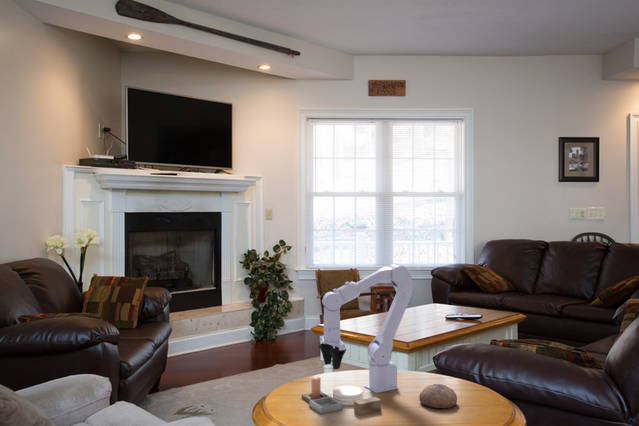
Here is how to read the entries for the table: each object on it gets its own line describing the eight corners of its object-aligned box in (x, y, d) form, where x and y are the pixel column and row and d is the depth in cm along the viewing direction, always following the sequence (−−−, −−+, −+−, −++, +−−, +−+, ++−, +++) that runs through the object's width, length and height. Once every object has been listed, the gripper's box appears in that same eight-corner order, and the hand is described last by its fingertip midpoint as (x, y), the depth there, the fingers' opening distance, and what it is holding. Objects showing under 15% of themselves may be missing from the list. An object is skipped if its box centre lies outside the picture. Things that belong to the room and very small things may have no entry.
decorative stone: (443, 411, 165) (442, 393, 165) (412, 402, 174) (411, 385, 174) (464, 401, 173) (463, 384, 173) (433, 393, 182) (432, 377, 182)
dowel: (317, 397, 180) (317, 376, 180) (322, 400, 177) (322, 379, 177) (309, 398, 178) (309, 377, 178) (314, 401, 176) (314, 380, 176)
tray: (330, 402, 175) (330, 396, 175) (342, 410, 168) (342, 403, 168) (309, 406, 171) (309, 400, 171) (320, 414, 165) (320, 408, 165)
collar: (320, 394, 183) (320, 391, 182) (330, 401, 176) (330, 397, 176) (301, 398, 179) (301, 394, 179) (311, 404, 173) (311, 401, 173)
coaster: (368, 399, 179) (368, 388, 179) (354, 408, 170) (353, 397, 170) (342, 393, 184) (342, 383, 184) (327, 402, 176) (327, 391, 176)
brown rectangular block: (375, 407, 170) (375, 396, 170) (381, 411, 167) (381, 399, 167) (354, 412, 166) (354, 401, 166) (359, 415, 164) (359, 404, 164)
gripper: (312, 324, 191) (312, 362, 191) (332, 332, 178) (332, 373, 178) (329, 322, 194) (329, 360, 194) (350, 330, 181) (350, 370, 181)
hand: (332, 366), depth 186 cm, fingers open, 6 cm apart
